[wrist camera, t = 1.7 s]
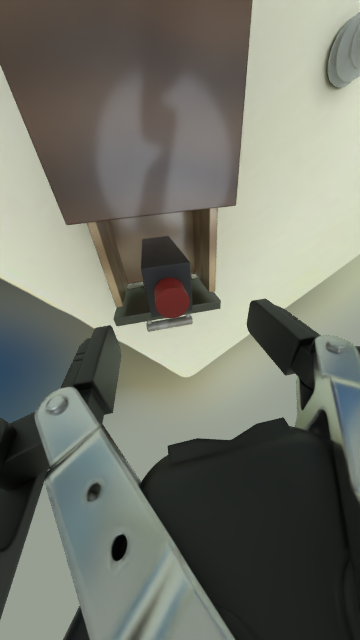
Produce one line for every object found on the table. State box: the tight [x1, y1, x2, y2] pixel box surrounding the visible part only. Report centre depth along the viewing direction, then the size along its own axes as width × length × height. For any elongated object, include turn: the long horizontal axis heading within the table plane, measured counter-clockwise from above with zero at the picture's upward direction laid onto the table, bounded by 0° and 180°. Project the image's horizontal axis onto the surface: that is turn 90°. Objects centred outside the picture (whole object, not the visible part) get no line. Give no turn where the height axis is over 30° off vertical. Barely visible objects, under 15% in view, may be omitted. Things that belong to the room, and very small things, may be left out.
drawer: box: [87, 208, 221, 332], centre depth 22 cm, size 19×13×8 cm
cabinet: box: [0, 0, 252, 225], centre depth 14 cm, size 16×15×10 cm
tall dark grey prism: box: [141, 236, 193, 318], centre depth 18 cm, size 4×4×15 cm
